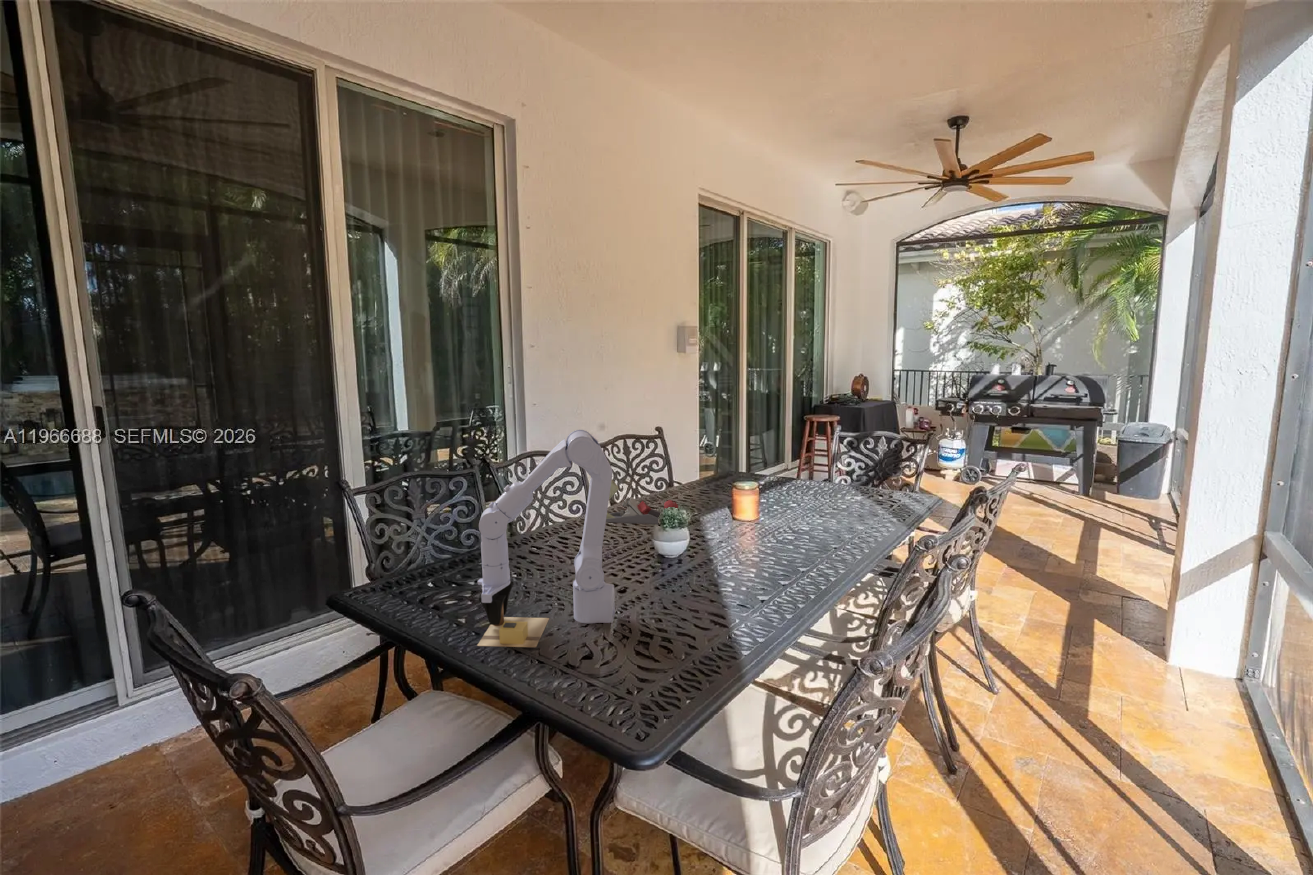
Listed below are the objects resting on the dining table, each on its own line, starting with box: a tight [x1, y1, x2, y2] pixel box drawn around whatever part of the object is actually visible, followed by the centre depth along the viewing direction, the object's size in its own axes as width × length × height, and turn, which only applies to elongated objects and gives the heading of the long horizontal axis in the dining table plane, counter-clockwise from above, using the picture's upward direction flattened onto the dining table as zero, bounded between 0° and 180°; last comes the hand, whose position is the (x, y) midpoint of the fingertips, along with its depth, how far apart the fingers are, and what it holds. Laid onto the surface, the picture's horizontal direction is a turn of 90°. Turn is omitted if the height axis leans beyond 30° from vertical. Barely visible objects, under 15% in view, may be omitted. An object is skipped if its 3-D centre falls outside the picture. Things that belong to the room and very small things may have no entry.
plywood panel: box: [476, 616, 550, 648], centre depth 134 cm, size 12×13×1 cm
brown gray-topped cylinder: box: [494, 605, 505, 626], centre depth 137 cm, size 3×3×6 cm
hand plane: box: [606, 479, 679, 525], centre depth 215 cm, size 7×31×15 cm, turn 83°
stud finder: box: [499, 621, 528, 644], centre depth 131 cm, size 5×4×3 cm
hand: (497, 619), depth 138 cm, fingers open, 4 cm apart
